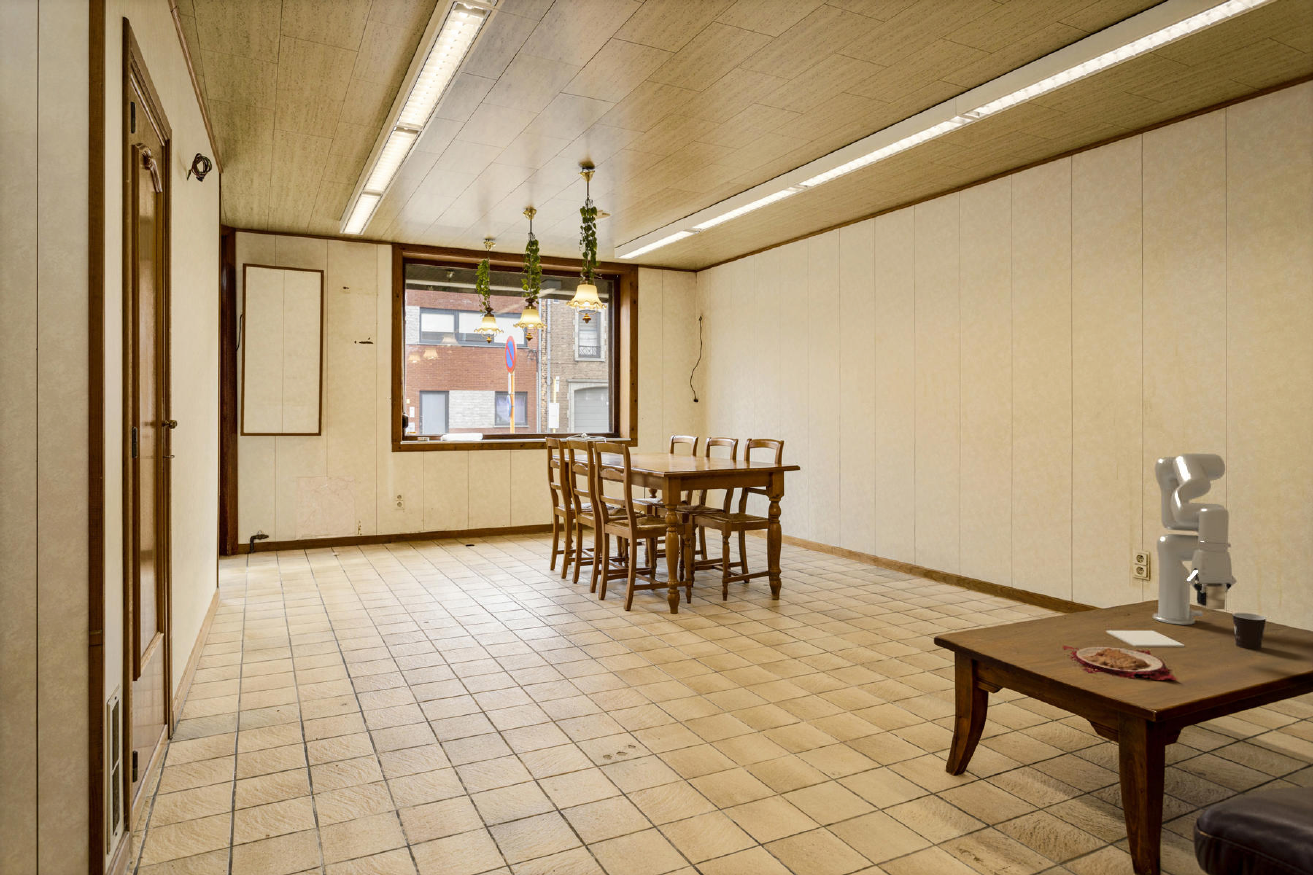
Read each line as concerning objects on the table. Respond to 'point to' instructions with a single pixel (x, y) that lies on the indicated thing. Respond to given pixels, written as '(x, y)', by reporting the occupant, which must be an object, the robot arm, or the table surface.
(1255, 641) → the coffee mug
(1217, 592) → the birch block
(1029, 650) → the table surface
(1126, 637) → the white mat
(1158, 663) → the plate with food
